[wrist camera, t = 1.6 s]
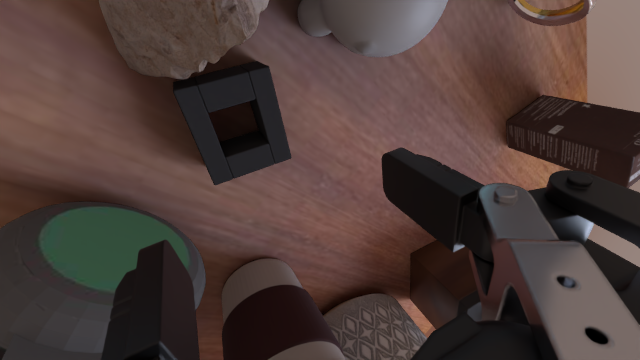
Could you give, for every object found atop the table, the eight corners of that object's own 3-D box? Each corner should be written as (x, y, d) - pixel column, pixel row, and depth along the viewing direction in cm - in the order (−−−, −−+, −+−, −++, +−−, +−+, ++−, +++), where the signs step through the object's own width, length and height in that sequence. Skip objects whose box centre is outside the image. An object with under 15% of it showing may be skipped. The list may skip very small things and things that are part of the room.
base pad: (459, 300, 31) (488, 329, 28) (523, 261, 34) (556, 284, 31) (451, 347, 37) (475, 375, 34) (507, 310, 39) (534, 333, 36)
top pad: (172, 81, 18) (172, 90, 16) (257, 60, 20) (269, 66, 17) (210, 167, 22) (214, 186, 19) (279, 144, 23) (291, 158, 21)
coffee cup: (275, 226, 27) (359, 394, 15) (318, 279, 32) (404, 430, 20) (181, 291, 25) (190, 531, 13) (244, 334, 31) (288, 527, 19)
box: (541, 91, 34) (687, 118, 24) (540, 122, 37) (670, 157, 27) (504, 119, 33) (637, 158, 24) (505, 148, 36) (626, 194, 26)
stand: (410, 253, 38) (459, 300, 31) (468, 223, 40) (523, 261, 34) (410, 299, 43) (451, 347, 37) (460, 270, 46) (507, 310, 39)
